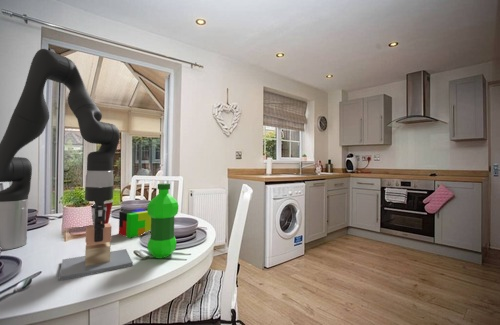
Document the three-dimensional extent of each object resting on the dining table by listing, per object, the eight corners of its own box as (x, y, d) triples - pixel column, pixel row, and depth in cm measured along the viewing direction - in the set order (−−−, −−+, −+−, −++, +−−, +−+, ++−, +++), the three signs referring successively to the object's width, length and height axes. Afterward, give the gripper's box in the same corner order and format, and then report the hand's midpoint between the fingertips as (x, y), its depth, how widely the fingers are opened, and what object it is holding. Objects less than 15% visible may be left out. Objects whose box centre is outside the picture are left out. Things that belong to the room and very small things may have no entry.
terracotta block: (86, 245, 71) (86, 229, 71) (85, 241, 75) (86, 225, 75) (111, 241, 75) (111, 226, 75) (108, 237, 79) (109, 223, 79)
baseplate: (58, 280, 64) (59, 276, 64) (62, 262, 75) (62, 259, 75) (132, 265, 74) (132, 262, 74) (125, 251, 86) (125, 249, 86)
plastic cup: (97, 221, 128) (98, 199, 128) (117, 222, 127) (118, 200, 127) (82, 227, 117) (83, 202, 117) (104, 227, 116) (105, 203, 117)
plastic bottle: (183, 252, 87) (184, 183, 87) (164, 263, 77) (166, 185, 77) (160, 248, 90) (161, 182, 90) (139, 258, 80) (141, 184, 80)
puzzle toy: (140, 229, 115) (140, 208, 116) (151, 233, 110) (152, 211, 110) (118, 233, 107) (119, 211, 107) (130, 238, 101) (130, 214, 102)
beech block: (85, 266, 71) (85, 249, 71) (85, 260, 75) (85, 245, 75) (110, 261, 75) (110, 246, 75) (108, 256, 79) (109, 241, 79)
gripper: (85, 183, 79) (83, 235, 79) (85, 187, 67) (83, 248, 67) (111, 183, 83) (109, 231, 83) (115, 186, 71) (114, 243, 71)
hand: (98, 238), depth 75 cm, fingers closed on terracotta block, 4 cm apart
